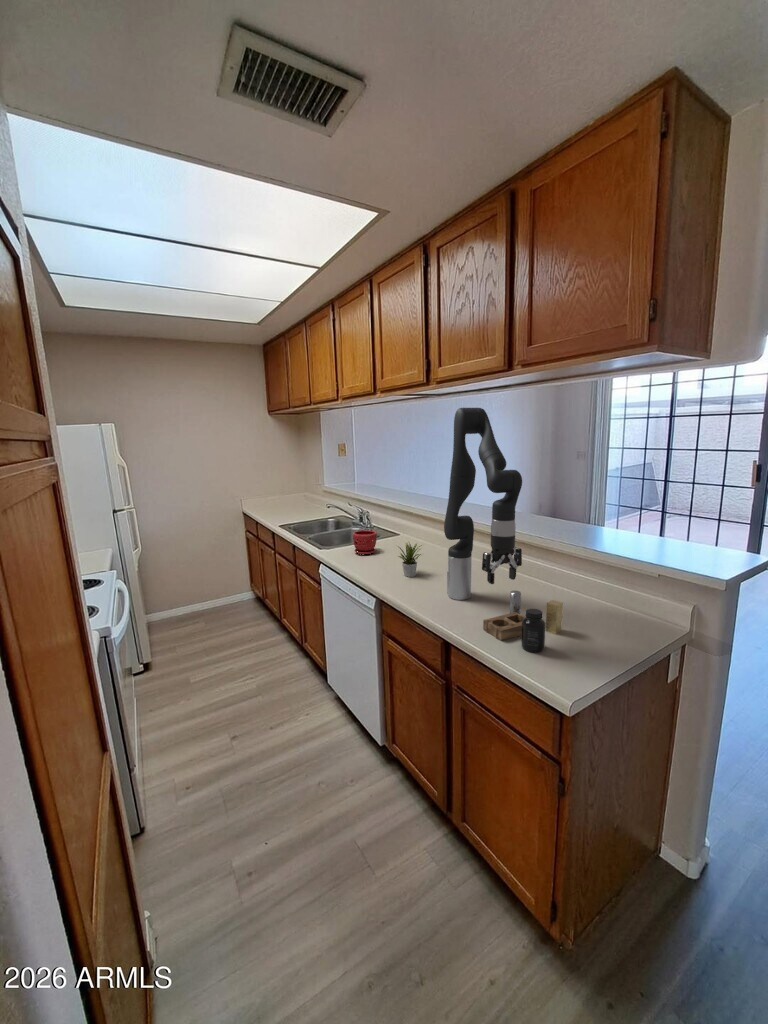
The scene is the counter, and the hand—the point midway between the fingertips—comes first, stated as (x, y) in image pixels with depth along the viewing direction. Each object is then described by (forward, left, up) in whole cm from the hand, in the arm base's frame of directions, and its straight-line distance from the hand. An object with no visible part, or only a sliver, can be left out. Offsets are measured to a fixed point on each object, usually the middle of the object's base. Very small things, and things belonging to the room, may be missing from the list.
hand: (501, 581), depth 139 cm
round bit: (-6, +12, -18) cm, 22 cm away
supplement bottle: (+12, +2, -18) cm, 22 cm away
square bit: (+7, +16, -18) cm, 25 cm away
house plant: (-64, +2, -18) cm, 67 cm away
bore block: (0, +4, -18) cm, 18 cm away
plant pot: (-110, -4, -18) cm, 112 cm away
